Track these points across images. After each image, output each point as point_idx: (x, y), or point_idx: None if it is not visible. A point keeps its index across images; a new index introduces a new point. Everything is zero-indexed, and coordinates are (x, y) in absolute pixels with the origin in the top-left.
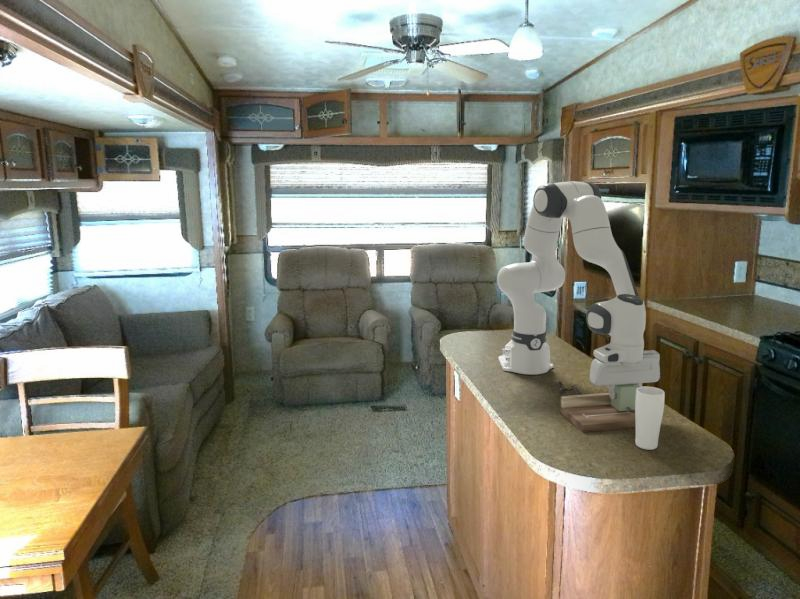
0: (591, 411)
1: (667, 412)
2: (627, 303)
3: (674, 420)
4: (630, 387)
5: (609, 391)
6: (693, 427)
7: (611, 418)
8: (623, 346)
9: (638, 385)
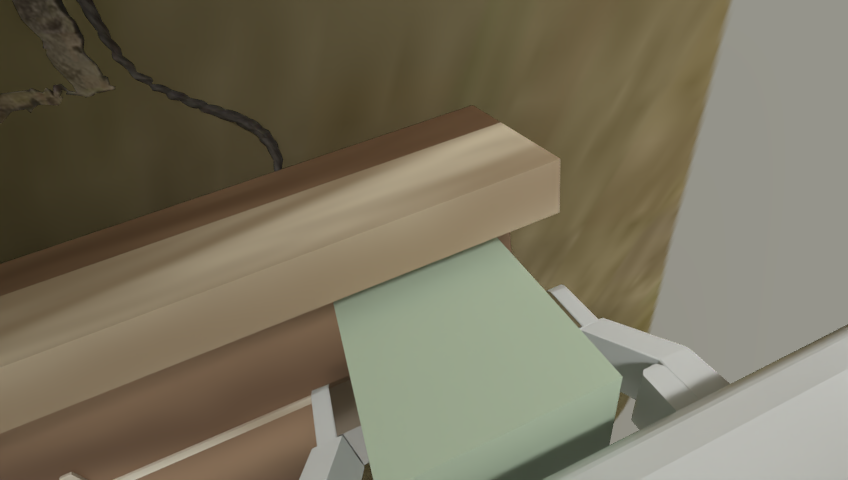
0: (138, 412)
1: (669, 169)
2: None
3: (628, 267)
4: None
5: (311, 456)
6: (646, 314)
7: (293, 448)
8: None
9: (643, 424)
